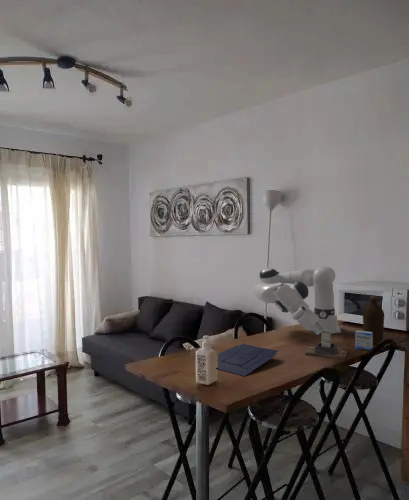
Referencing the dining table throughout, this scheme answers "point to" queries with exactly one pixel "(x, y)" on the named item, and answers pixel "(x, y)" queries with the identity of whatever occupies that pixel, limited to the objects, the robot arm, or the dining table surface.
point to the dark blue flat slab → (244, 358)
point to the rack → (326, 351)
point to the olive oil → (374, 320)
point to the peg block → (326, 338)
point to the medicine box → (363, 340)
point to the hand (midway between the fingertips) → (320, 331)
